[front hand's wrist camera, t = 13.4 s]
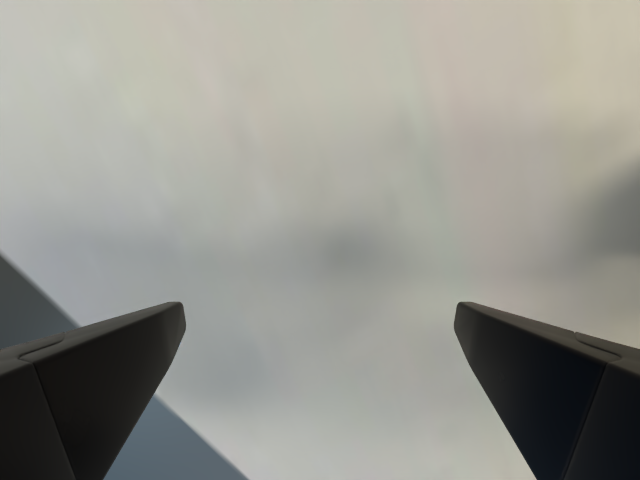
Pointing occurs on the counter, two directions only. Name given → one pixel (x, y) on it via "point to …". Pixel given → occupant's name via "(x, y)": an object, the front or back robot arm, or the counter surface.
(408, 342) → the counter surface
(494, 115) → the counter surface
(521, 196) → the counter surface
